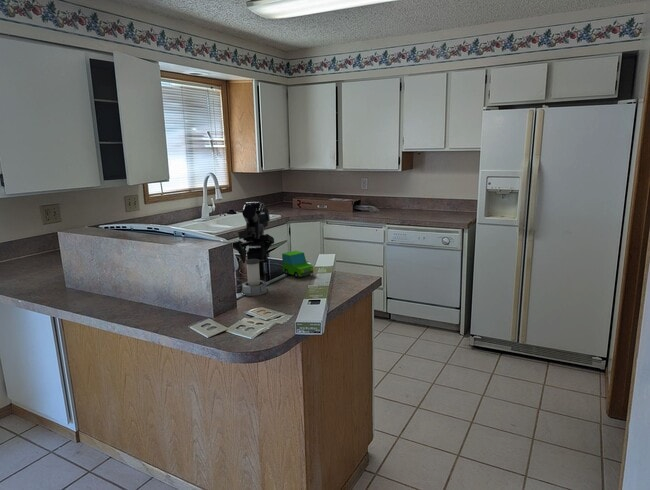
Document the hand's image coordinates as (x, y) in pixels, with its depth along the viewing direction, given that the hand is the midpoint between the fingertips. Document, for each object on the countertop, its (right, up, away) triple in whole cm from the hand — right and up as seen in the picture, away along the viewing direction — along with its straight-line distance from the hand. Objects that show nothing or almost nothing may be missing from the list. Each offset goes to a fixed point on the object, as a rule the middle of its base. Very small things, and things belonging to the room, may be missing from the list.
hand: (252, 261), depth 193 cm
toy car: (+19, -7, +16) cm, 26 cm away
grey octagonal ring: (+2, -13, -7) cm, 14 cm away
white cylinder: (+2, -12, -7) cm, 14 cm away
